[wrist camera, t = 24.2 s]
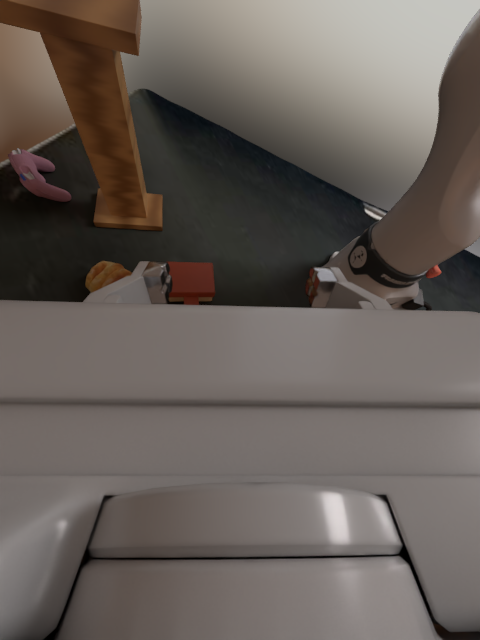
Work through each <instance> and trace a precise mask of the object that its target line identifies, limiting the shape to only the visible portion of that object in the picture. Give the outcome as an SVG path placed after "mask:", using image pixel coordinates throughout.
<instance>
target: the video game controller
mask: <svg viewBox="0 0 480 640" xmlns="http://www.w3.org/2000/svg"><path fill="white" fill-rule="evenodd" d="M8 157H9V160H10V162H11V164H12V166H13V168H14V169H15V171H16V172H17V174H18V175H19V176H20V178H19V179H20V182H21V183H22V184H23V185H24V186H25V187H26V188H27V189H28V190H29V191H30V192H32V193H33V194H35V195H36V196H39V197H44V198H48V199H51V200H54V201H60V202H67V201H70V200H71V195H70V194H69V193H68V192H67V191H65V190H63V189H60V188H58V187H55V186H52V185H50V184H47V183H45V179H44V177H43V176H42V175H41V174H40V173H38V171H42V172H53V171H54V170H55V166H54V165H53V164H52V163H51V162H50V161H48V160H47V159H44V158H42V157H39V156H36V155H33V154H31V153H29V152H27V151H25V150H22V149H21V150H20V149H19V148H17V150H13V151H12V152H11V153H10V154H8ZM37 170H38V171H37Z"/></svg>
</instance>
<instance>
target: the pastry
mask: <svg viewBox="0 0 480 640" xmlns="http://www.w3.org/2000/svg"><path fill="white" fill-rule="evenodd" d="M131 274H132V272H130V271H128V270H126V269H124V268H123V266H122V265H121V264H117V263H112V262H106V261H102V262H100V263H98V264H96V265H95V266H94V267H93V268H91V270H90V272H89V273H88V275H87V277H86V283H85V286H86V288H87V289H88V290H89V291H90V292H91V293H92V292H94V291H96V290H99V289H101V288H103V287H105V286H107V285H109V284H111V283H114V282H116V281H118V280H120V279H122V278H124V277H126V276H131Z"/></svg>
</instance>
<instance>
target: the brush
mask: <svg viewBox="0 0 480 640" xmlns="http://www.w3.org/2000/svg"><path fill="white" fill-rule="evenodd" d="M168 264H169V266H170V272H169V274H170V275H171V276H172V281H173V287H172V291H171V293H169V302H174V301H184V305H199V301H212V297H214V295H215V286H214V275H213V264H212V263H190V262H168Z"/></svg>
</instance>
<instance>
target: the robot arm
mask: <svg viewBox="0 0 480 640" xmlns="http://www.w3.org/2000/svg"><path fill="white" fill-rule="evenodd" d="M438 97H439V113H438V114H439V115H438V123H437V129H436V134H435V138H434V142H433V145H432V148H431V151H430V154H429V156H428V158H427V161H426V163H425V165H424V167H423V169H422V171H421V173H420V174H419V176H418V177H417V179H416V181H415V182H414V183H413V185H412V186H411V187H410V188H409V190H408V191H407V192H406V193H405V194H404V195H403V197H402V198H401V199H400V200H399V201H398V202H397V203H396V205H395V206H394V207H393V208H392V209H391V210H390V211H389V212H388V213H387V214H386V215H385V216H384V217H383V218H382V219H381V220H380V221H378V222H376V223H374V224H373V225H372V226H370V227H369V228H367V229H366V230H365V231H364V233H363V234H362V235H361V236H359V237H357V238H355V239H354V240H353V241H352V242H351V243H349V244H348V245H347V246H346V247H345V248H343V249H342V250H341V251H340V252H335V253H333V254H332V255H331V257H330V259H329V262H328V263H327V264H325V265H324V266H323V267H311V269H310V271H309V276H310V278H309V279H308V280H307V281H306V286H305V292H306V295H307V296H308V297H309V300H308V301H309V303H310V306H311V308H298V307H256V306H216V305H176V304H167V302H168V300H169V293H171V291H172V287H173V281H172V276H171V275H170V274H169V272H170V266H169V264H168V262H149V261H141V262H139V264H138V265H137V267H136V268H135V270H134V271H133V273H132V274H131V276H126V277H124V278H122V279H120V280H118V281H116V282H114V283H111V284H109V285H107V286H105V287H103V288H101V289H99V290H96V291H94V292H92V293H90V294H89V295H88V296H87V298H86V299H85V300H84V301H83V302H51V301H15V300H0V640H480V313H477V312H468V311H431V310H432V307H431V305H430V304H428V303H426V302H425V301H423V294H422V290H420V289H419V286H418V281H419V280H420V279H421V278H422V277H423V276H424V275H425V274H426V277H427V278H432V277H435V276H438V275H439V274H441V270H440V269H439V268H438V266H437V265H438V264H439V263H441V262H443V261H445V260H446V259H448V258H450V257H451V256H453V255H455V254H457V253H458V252H460V251H462V250H464V249H465V248H467V247H469V246H470V245H472V244H473V243H474V242H475V241H476V240H477V239H478V238H479V237H480V9H479V11H478V12H477V13H476V14H475V15H474V17H473V18H472V20H471V21H470V22H469V24H468V25H467V26H466V28H465V30H464V31H463V33H462V34H461V36H460V37H459V39H458V40H457V42H456V44H455V46H454V48H453V50H452V52H451V54H450V56H449V58H448V61H447V63H446V65H445V68H444V71H443V74H442V77H441V81H440V85H439V93H438ZM422 306H424V307H426V308H427V309H426V311H423V310H416V309H418V308H420V307H422Z"/></svg>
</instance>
